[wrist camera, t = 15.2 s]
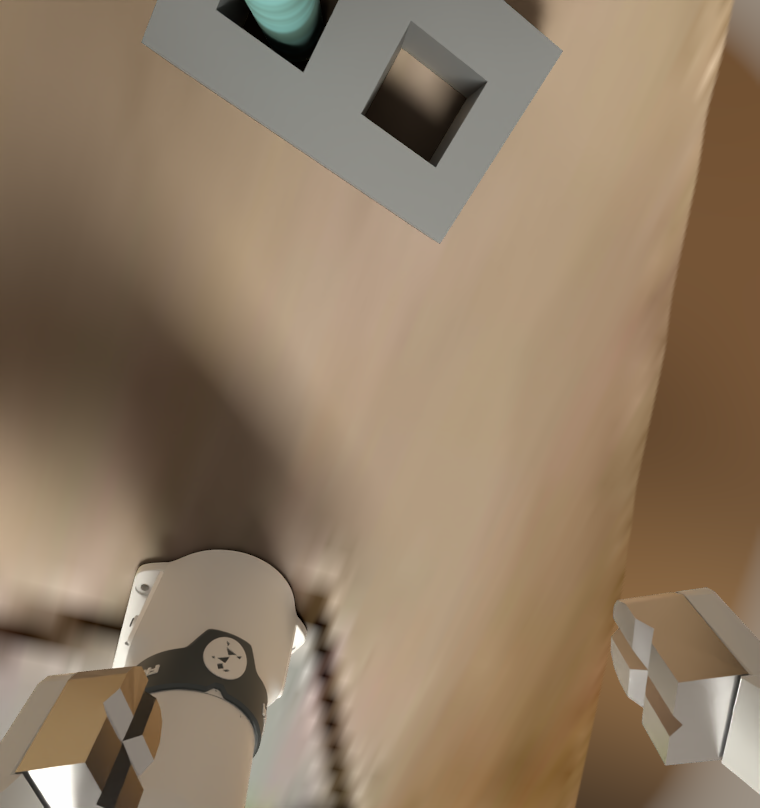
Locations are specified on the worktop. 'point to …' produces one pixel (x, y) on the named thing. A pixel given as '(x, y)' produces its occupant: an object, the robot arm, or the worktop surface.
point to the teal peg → (289, 26)
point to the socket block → (371, 88)
